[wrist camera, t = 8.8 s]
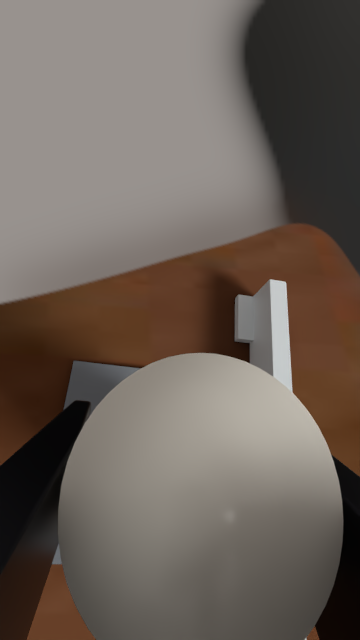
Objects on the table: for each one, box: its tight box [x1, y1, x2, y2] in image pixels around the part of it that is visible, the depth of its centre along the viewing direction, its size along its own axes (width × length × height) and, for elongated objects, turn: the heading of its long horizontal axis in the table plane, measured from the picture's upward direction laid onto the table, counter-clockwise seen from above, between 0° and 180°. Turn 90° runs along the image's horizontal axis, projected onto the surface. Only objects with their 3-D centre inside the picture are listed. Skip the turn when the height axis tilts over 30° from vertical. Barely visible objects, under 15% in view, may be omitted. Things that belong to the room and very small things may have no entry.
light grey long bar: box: [235, 279, 307, 640], centre depth 16 cm, size 20×3×3 cm, turn 176°
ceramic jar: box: [58, 353, 343, 640], centre depth 10 cm, size 5×5×10 cm
